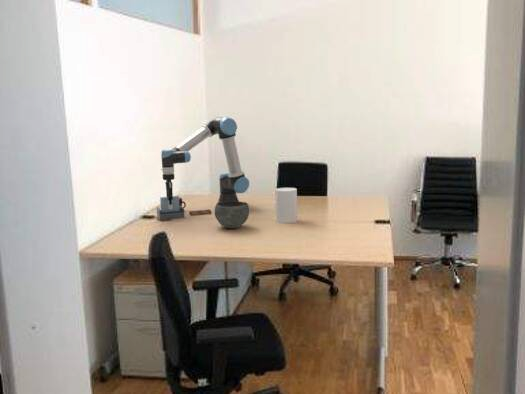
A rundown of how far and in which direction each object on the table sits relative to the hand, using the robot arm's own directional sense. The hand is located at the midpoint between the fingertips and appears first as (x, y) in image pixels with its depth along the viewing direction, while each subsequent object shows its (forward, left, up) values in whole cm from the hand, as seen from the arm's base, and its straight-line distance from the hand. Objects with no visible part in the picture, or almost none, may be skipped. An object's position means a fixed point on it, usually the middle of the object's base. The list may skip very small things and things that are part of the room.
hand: (170, 208), depth 382 cm
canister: (-67, +38, -6) cm, 77 cm away
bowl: (-30, +43, -6) cm, 53 cm away
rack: (0, 0, -6) cm, 6 cm away
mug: (-8, -16, -6) cm, 19 cm away
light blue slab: (0, 0, -4) cm, 4 cm away
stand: (-20, 0, -6) cm, 21 cm away
